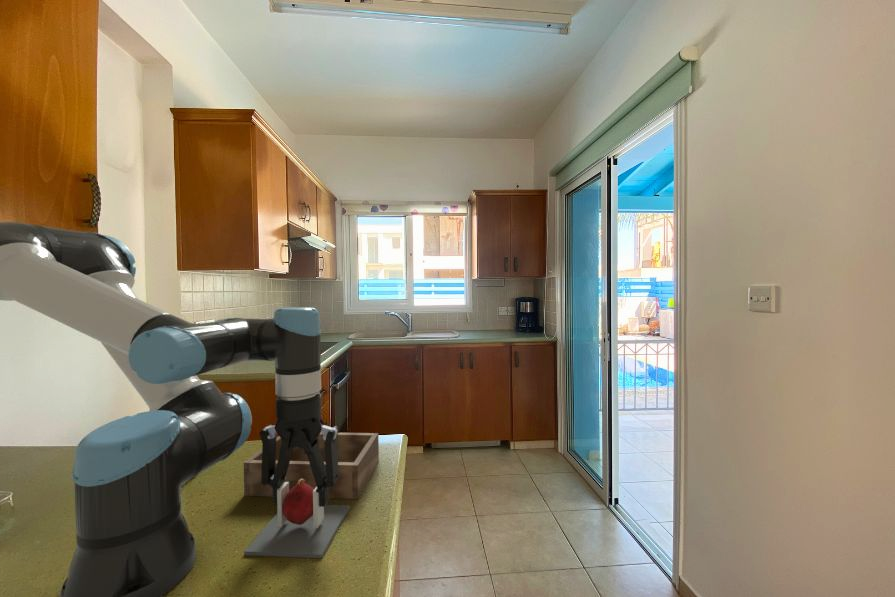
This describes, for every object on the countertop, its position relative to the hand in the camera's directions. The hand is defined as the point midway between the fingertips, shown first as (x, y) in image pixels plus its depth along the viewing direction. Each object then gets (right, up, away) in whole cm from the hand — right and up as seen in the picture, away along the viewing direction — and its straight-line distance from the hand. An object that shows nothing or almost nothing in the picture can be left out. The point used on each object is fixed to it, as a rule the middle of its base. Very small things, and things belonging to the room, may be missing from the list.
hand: (301, 521), depth 64 cm
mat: (0, -1, 0) cm, 1 cm away
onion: (0, -1, 0) cm, 1 cm away
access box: (-4, -1, +18) cm, 19 cm away
